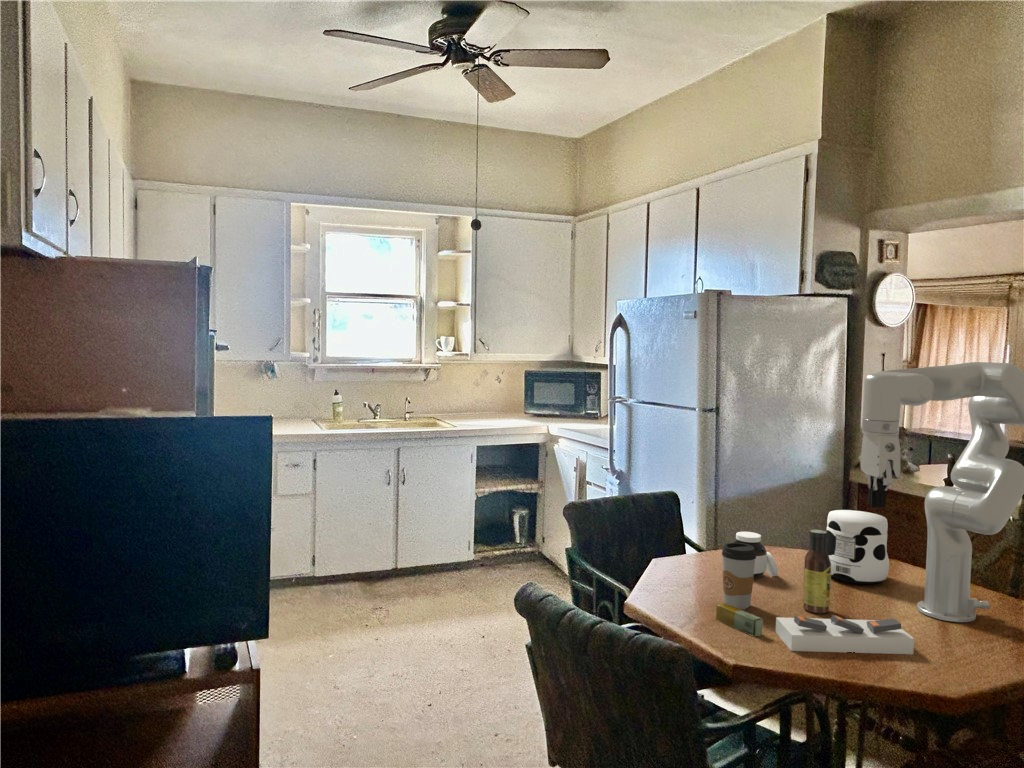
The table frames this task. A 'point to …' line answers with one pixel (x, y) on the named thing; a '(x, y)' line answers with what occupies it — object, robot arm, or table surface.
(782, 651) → the table surface
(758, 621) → the medication box
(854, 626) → the rocker middle
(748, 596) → the coffee cup
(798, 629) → the rocker switch panel
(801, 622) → the rocker
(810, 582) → the sauce bottle
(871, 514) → the milk container
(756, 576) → the spread jar
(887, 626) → the rocker
